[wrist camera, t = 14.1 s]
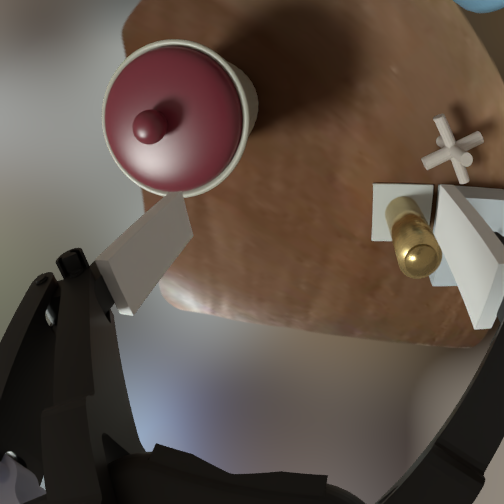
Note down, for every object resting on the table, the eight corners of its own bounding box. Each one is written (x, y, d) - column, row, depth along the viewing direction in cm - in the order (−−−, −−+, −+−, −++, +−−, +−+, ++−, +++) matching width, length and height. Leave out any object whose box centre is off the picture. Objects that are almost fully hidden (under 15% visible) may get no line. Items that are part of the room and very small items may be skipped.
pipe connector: (476, 158, 36) (505, 179, 28) (427, 182, 41) (447, 209, 32) (453, 99, 32) (482, 107, 24) (400, 124, 37) (418, 138, 29)
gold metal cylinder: (385, 196, 43) (401, 240, 32) (421, 196, 42) (447, 240, 31) (384, 230, 46) (396, 281, 35) (417, 230, 45) (438, 281, 34)
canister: (269, 166, 46) (227, 231, 29) (165, 151, 49) (83, 202, 32) (283, 52, 36) (245, 33, 19) (169, 48, 39) (74, 49, 21)
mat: (373, 183, 43) (373, 184, 43) (432, 184, 40) (433, 185, 40) (371, 239, 48) (371, 240, 48) (426, 240, 46) (427, 241, 45)
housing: (438, 184, 40) (448, 196, 36) (506, 189, 36) (519, 201, 32) (426, 268, 48) (432, 286, 44) (488, 268, 44) (497, 284, 40)
